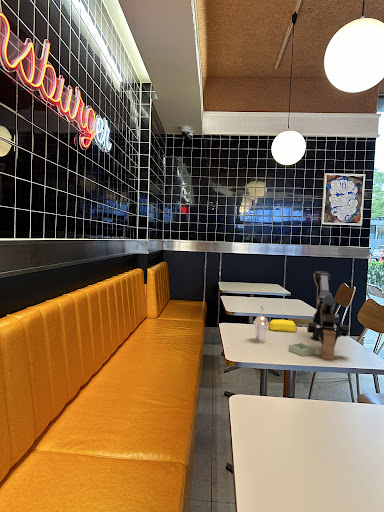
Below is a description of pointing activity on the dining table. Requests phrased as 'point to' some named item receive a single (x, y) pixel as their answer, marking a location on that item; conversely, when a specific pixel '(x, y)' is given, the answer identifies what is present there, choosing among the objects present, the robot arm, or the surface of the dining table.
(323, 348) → the walnut block
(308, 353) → the green holder
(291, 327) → the yellow rounded block
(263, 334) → the cup with straw
